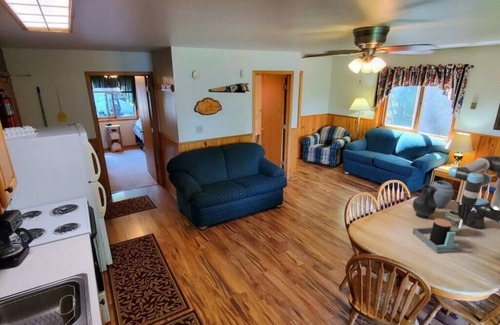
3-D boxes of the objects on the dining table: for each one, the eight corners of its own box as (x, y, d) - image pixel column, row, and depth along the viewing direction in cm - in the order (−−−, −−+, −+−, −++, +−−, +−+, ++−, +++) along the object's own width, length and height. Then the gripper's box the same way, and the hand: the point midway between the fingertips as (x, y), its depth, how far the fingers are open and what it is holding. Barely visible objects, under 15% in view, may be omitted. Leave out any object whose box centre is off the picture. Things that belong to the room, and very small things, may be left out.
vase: (430, 210, 251) (436, 186, 243) (421, 201, 269) (426, 178, 261) (453, 212, 248) (460, 187, 240) (443, 202, 266) (449, 179, 258)
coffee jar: (448, 248, 197) (454, 226, 191) (432, 246, 199) (438, 225, 193) (441, 239, 207) (447, 219, 201) (426, 238, 209) (431, 217, 203)
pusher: (456, 248, 196) (461, 231, 191) (458, 250, 194) (463, 232, 189) (435, 250, 194) (440, 232, 189) (437, 251, 192) (442, 233, 188)
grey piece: (435, 231, 217) (436, 227, 215) (461, 251, 193) (463, 246, 192) (412, 233, 215) (413, 228, 213) (436, 253, 191) (438, 248, 190)
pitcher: (433, 214, 243) (440, 184, 234) (433, 225, 226) (441, 192, 217) (411, 209, 252) (417, 180, 242) (410, 219, 235) (416, 188, 226)
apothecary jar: (439, 232, 216) (444, 212, 210) (442, 226, 224) (447, 207, 218) (458, 238, 208) (463, 218, 202) (460, 232, 216) (465, 212, 211)
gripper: (456, 192, 180) (448, 223, 188) (473, 201, 168) (464, 233, 175) (466, 191, 181) (457, 222, 188) (484, 200, 169) (474, 233, 176)
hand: (461, 227), depth 182 cm, fingers closed
